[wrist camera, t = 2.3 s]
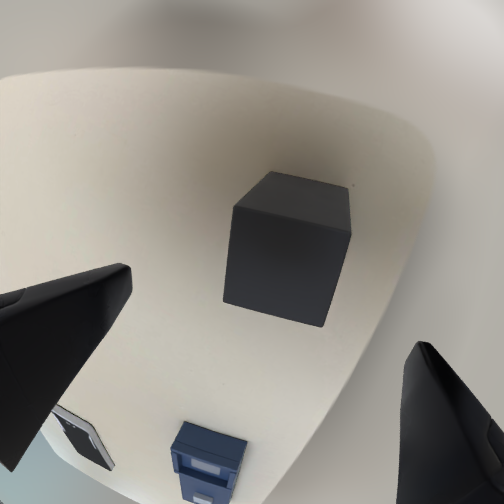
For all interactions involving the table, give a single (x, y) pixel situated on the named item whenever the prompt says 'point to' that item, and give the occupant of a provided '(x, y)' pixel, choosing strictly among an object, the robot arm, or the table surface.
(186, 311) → the table surface
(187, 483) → the blue long open box
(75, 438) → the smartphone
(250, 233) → the block
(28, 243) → the table surface
